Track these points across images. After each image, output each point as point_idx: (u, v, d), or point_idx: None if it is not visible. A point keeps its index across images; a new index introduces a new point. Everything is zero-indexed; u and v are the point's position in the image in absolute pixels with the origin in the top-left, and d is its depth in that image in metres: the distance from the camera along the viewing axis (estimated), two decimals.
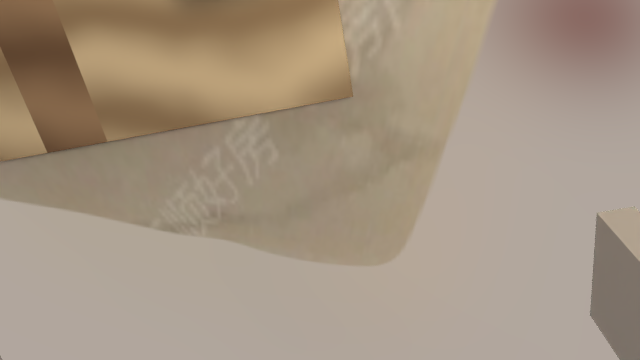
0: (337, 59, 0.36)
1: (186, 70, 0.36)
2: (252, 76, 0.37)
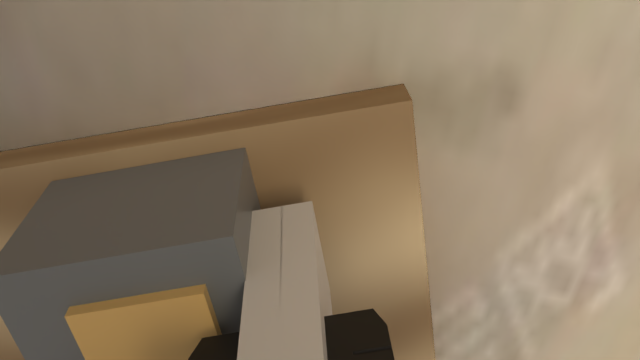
0: None
1: None
2: None
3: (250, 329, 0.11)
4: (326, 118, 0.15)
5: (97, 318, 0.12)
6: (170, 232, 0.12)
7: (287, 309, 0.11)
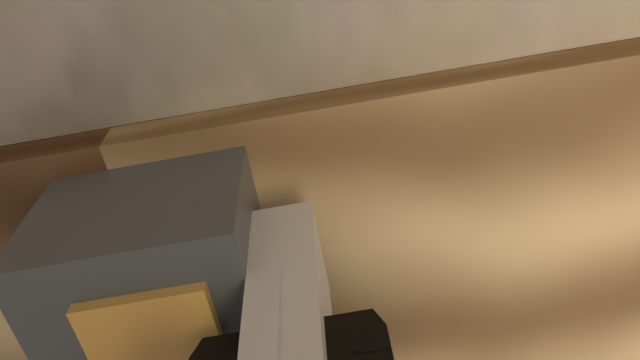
0: None
1: None
2: None
3: (250, 329, 0.11)
4: None
5: (98, 315, 0.12)
6: (171, 230, 0.12)
7: (287, 309, 0.11)
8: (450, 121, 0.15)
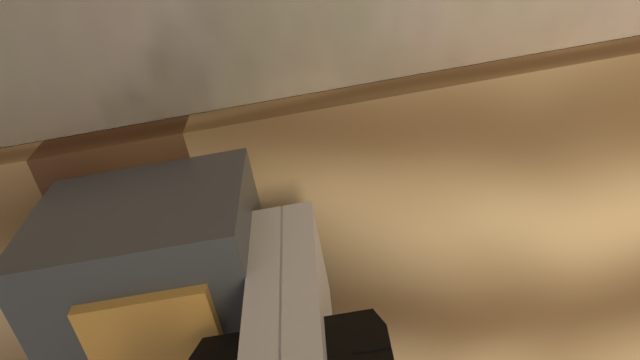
0: None
1: None
2: None
3: (251, 329, 0.11)
4: None
5: (99, 317, 0.12)
6: (171, 233, 0.12)
7: (287, 309, 0.11)
8: (534, 106, 0.15)
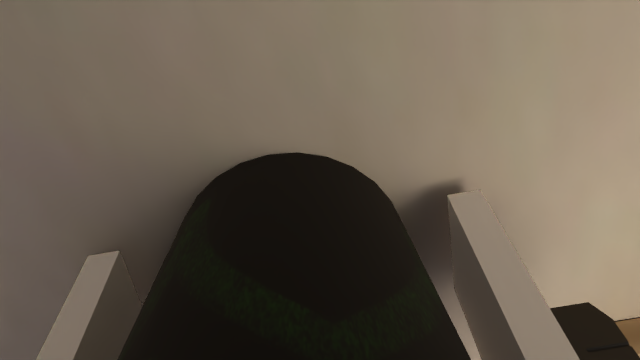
0: None
1: None
2: None
3: None
4: None
5: None
6: None
7: (508, 303, 0.10)
8: None
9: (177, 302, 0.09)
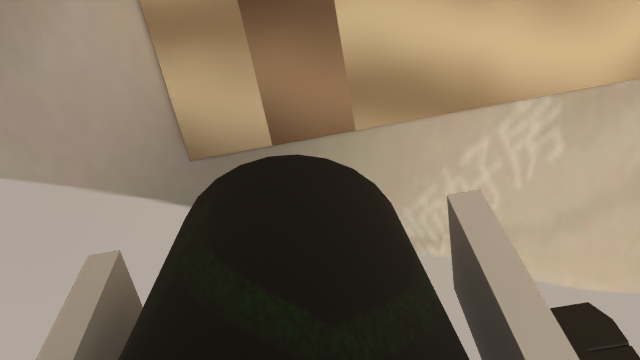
0: None
1: (484, 30, 0.26)
2: (571, 38, 0.26)
3: None
4: None
5: None
6: None
7: (507, 303, 0.10)
8: None
9: (177, 305, 0.09)
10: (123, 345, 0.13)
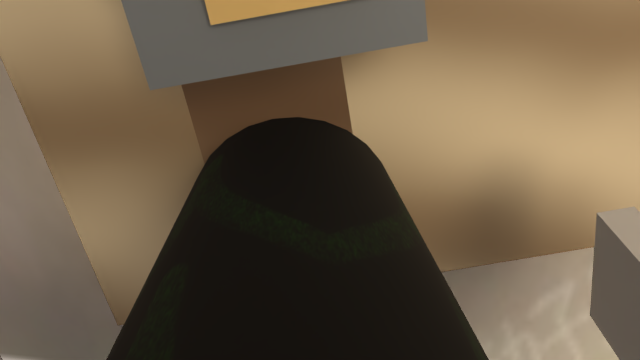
0: None
1: (589, 139, 0.16)
2: None
3: None
4: None
5: None
6: None
7: None
8: None
9: (199, 226, 0.11)
10: None
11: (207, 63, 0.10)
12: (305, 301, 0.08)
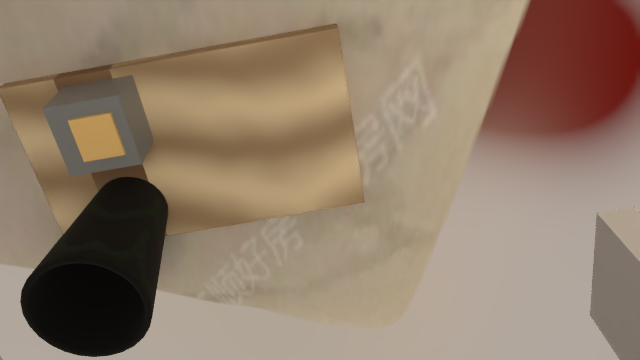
0: (352, 175, 0.46)
1: (233, 183, 0.46)
2: (285, 187, 0.46)
3: None
4: (307, 35, 0.41)
5: (77, 121, 0.38)
6: (100, 95, 0.38)
7: None
8: (236, 59, 0.41)
9: (84, 212, 0.41)
10: None
11: (85, 169, 0.40)
12: (96, 226, 0.38)
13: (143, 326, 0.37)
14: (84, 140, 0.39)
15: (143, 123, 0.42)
